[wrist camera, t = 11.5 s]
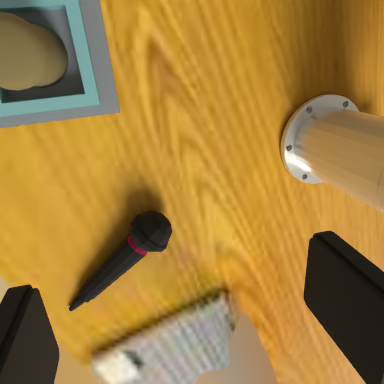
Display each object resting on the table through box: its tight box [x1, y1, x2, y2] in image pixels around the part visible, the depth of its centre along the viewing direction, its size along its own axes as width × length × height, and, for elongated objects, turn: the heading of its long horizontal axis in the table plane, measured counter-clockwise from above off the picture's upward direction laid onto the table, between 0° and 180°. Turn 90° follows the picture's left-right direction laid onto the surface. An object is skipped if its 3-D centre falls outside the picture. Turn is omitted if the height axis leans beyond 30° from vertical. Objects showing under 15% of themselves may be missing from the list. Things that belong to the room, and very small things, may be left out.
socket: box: [0, 0, 120, 128], centre depth 30 cm, size 14×13×3 cm
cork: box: [0, 12, 68, 90], centre depth 26 cm, size 6×6×11 cm
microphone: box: [69, 211, 172, 311], centre depth 41 cm, size 6×6×20 cm
